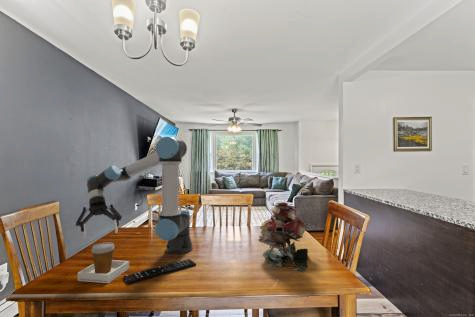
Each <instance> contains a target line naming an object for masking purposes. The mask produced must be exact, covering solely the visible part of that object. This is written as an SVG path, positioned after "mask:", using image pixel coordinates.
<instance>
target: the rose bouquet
mask: <svg viewBox="0 0 475 317" xmlns="http://www.w3.org/2000/svg"><path fill="white" fill-rule="evenodd" d="M273 206H274V207H272V208H271V209H270V210H271V212H272V215H270V218H269V219H266V220H265V221H263V222H262V223H261V225H260V230H261V231H260V235H259V236H258V242H259V243H262V244H265V245H268V246H269V248H268V249H267V250H266V251H264V252H263V254H262V255H263V257H264V261H263V263H267V262H268V266H269V267H270V268H273V267H282V268H286V269H289V266H287V265H285V264H286V261H287V260H290V261H292V265H294V266H295V267H296V268H292V269H291V270H292V271H297V272H301V273H304V272H307V268H308V262H307V261H308V259H309V255H308V254H309V253H308V252H309V250H308V248H299V249H297V250H296V248H297V247H296V246H295V243H296V242H300V239H301V238H305V236H304V234H305V232H308V230H306V225H305V222H303V221H302V220H301V219H300V218H299V217H298V216H296V213H295V212H294V211H295V210H296V208H295V207H293V206H291V205H289V202H277V203H276V204H273ZM303 236H304V237H303ZM291 240H293V241H294V242H291Z"/></svg>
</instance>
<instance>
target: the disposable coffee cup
mask: <svg viewBox="0 0 475 317" xmlns="http://www.w3.org/2000/svg"><path fill="white" fill-rule="evenodd" d="M114 249H115V244H114V242H100V243H96V244H94V245H93V246H92V247H91V253H92V259H93V264H94V268H95V273H100V274H106V273H108V272H110V271H111V265H112V260H113V258H114V257H113V256H114Z"/></svg>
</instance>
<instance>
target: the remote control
mask: <svg viewBox="0 0 475 317" xmlns="http://www.w3.org/2000/svg"><path fill="white" fill-rule="evenodd" d="M196 266H197V263H196V262H194V261H193V260H192V259H190V258H186V259H184V260H180V261H176V262H172V263H168V264H164V265H161V266H157V267H152V268H149V269H144V270H141V271H137V272H133V273H129V274H126V275H123V279H124V282H126V284H127V286H128V285H130V286H131V285H132V284H133V285H134V284H136V283H140V282H143V281H148V280H149V279H150V280H151V279H153V278H158V277H161V276H164V275H167V274H171V273H175V272H178V271H182V270H186V269H188V268H194V267H196Z"/></svg>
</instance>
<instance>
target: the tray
mask: <svg viewBox="0 0 475 317" xmlns="http://www.w3.org/2000/svg"><path fill="white" fill-rule="evenodd" d="M129 269H130V261H129V260H118V259H117V260H115V259H112V265H111V271H110V272H108V273H106V274H100V273H95V268H94V263H92V264H91V265H89V266H87V267H85V268H84V269H82V270H80V271H78V272H77V282H88V283H89V282H90V283H102V284H109V283H111V282H113V281H114V280H115V279H117V278H118V277H119V276H121V275H122V274H123V273H125V272H127V271H128V270H129Z"/></svg>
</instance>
